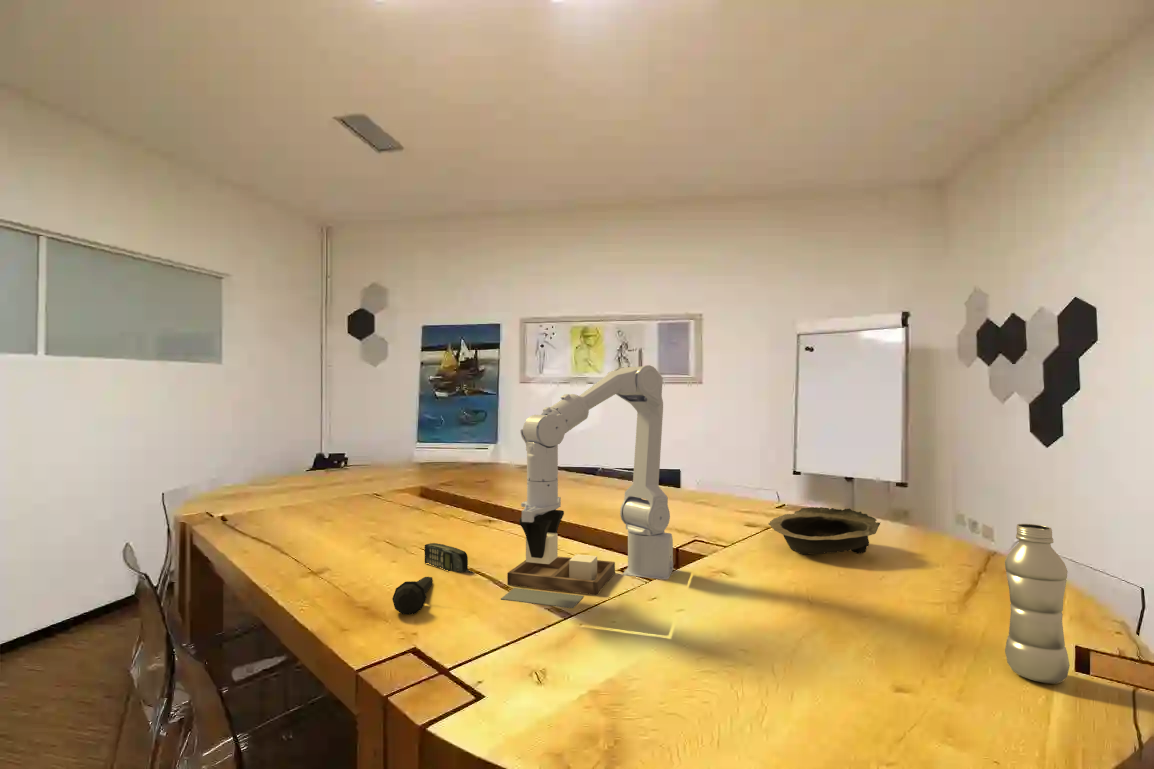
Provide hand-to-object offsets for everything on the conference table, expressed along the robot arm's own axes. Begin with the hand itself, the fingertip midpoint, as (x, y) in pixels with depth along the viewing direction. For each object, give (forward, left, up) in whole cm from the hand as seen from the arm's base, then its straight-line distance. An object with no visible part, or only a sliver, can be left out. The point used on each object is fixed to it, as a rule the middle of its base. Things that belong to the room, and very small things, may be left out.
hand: (542, 553), depth 101 cm
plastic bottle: (-73, +6, -9) cm, 74 cm away
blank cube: (-4, -11, -8) cm, 15 cm away
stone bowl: (-53, -51, -9) cm, 74 cm away
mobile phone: (+27, -11, -9) cm, 30 cm away
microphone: (+22, +6, -9) cm, 24 cm away
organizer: (0, -11, -9) cm, 14 cm away
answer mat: (0, 0, -9) cm, 9 cm away
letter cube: (0, 0, -1) cm, 1 cm away
